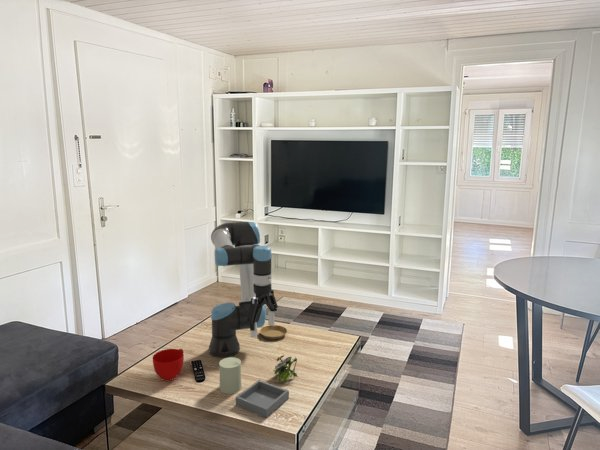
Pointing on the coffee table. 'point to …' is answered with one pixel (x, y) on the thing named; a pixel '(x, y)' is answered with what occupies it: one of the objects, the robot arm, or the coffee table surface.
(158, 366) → the red bowl
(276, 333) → the plant saucer
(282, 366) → the passion flower
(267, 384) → the tray
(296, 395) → the coffee table surface
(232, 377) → the can
